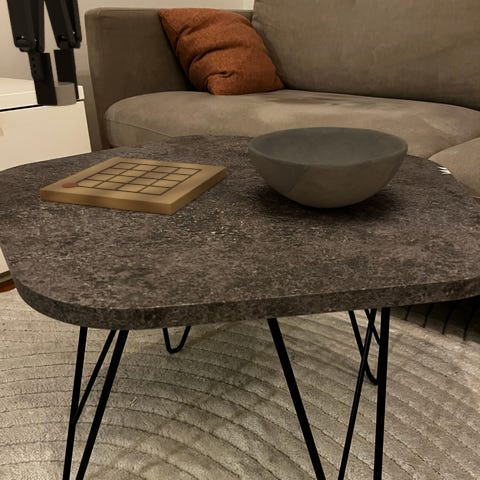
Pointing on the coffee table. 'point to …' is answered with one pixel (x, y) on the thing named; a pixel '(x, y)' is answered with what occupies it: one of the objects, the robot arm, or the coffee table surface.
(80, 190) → the board
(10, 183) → the coffee table surface
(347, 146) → the bowl
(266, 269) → the coffee table surface
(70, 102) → the stone
